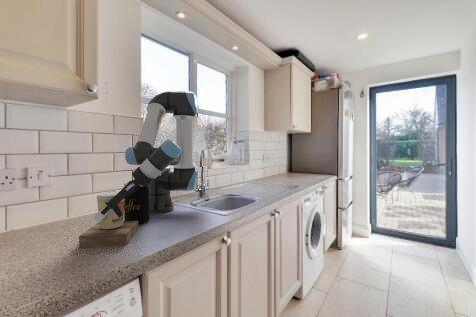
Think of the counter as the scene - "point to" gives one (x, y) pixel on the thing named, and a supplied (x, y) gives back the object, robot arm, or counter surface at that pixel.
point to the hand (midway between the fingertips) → (102, 215)
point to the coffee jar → (138, 205)
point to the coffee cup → (113, 217)
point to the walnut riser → (108, 235)
